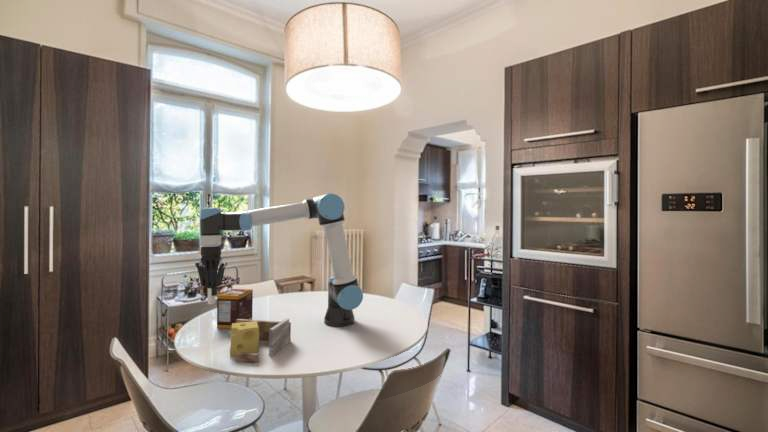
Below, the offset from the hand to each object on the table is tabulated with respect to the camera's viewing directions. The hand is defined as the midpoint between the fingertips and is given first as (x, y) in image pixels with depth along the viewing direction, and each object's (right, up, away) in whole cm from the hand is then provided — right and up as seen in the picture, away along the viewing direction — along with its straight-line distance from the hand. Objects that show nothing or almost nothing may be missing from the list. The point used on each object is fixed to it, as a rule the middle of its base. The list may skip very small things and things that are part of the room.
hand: (211, 303), depth 145 cm
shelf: (+16, -18, -3) cm, 24 cm away
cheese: (+15, -18, -3) cm, 23 cm away
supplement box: (-3, -17, +30) cm, 34 cm away
